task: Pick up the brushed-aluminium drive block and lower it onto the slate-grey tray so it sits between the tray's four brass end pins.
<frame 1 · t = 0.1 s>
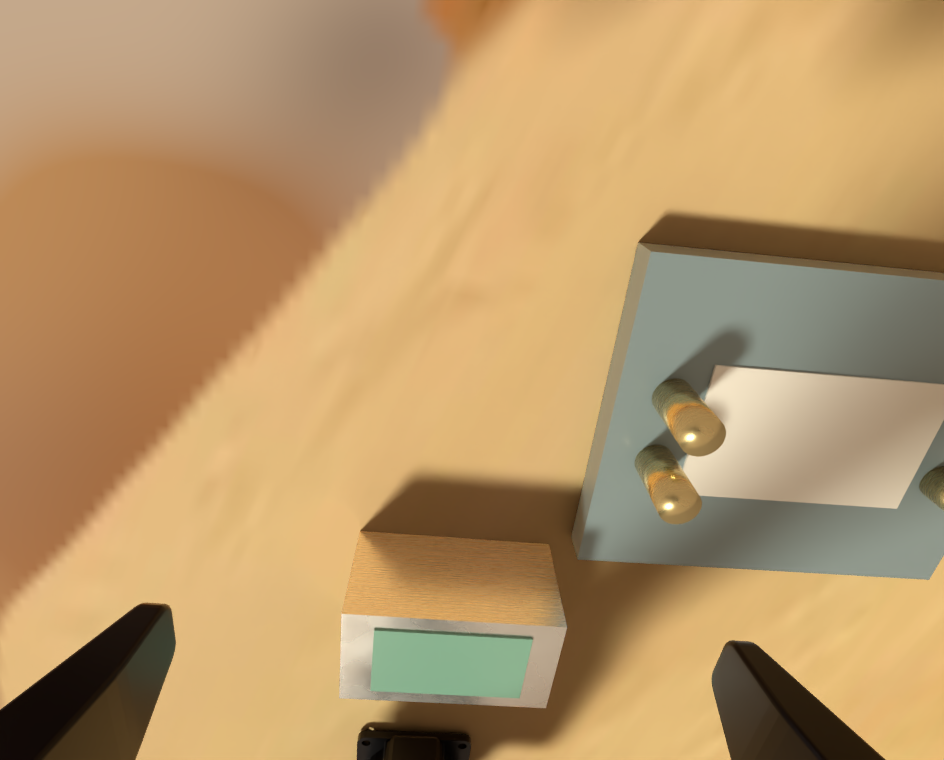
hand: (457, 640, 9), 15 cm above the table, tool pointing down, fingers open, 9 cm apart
pin tray: (791, 422, 25), on the table
drive: (450, 574, 28), on the table
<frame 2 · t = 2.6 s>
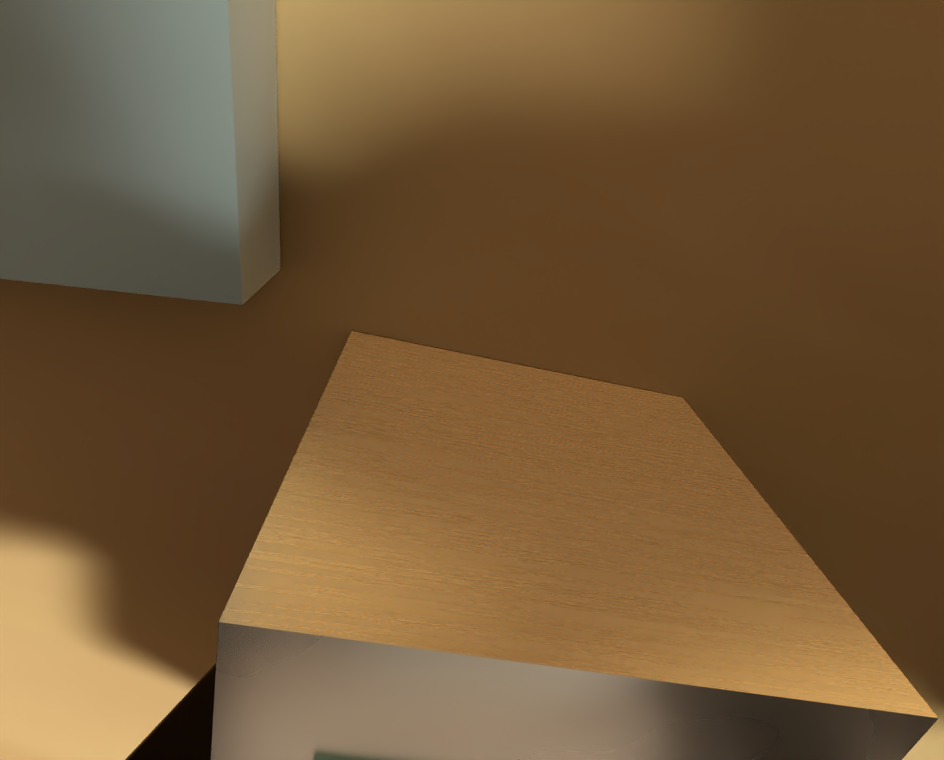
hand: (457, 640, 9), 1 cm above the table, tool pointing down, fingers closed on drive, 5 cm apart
drive: (457, 590, 10), on the table, touching gripper
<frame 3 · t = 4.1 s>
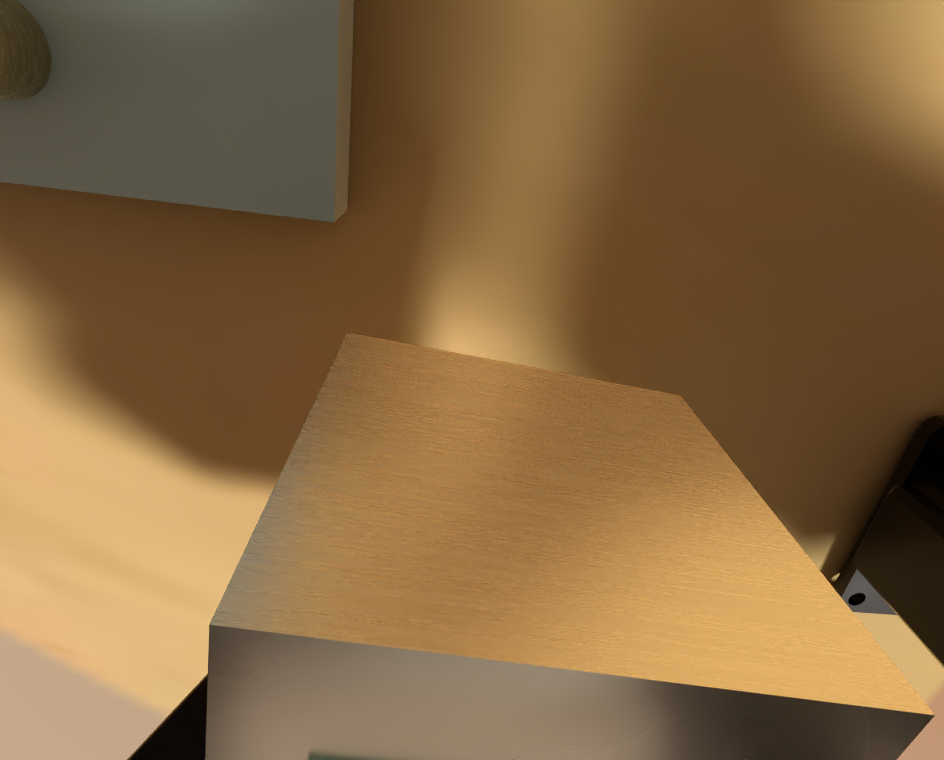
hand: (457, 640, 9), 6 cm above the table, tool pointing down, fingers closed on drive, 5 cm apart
drive: (456, 590, 10), point 5 cm above the table, touching gripper
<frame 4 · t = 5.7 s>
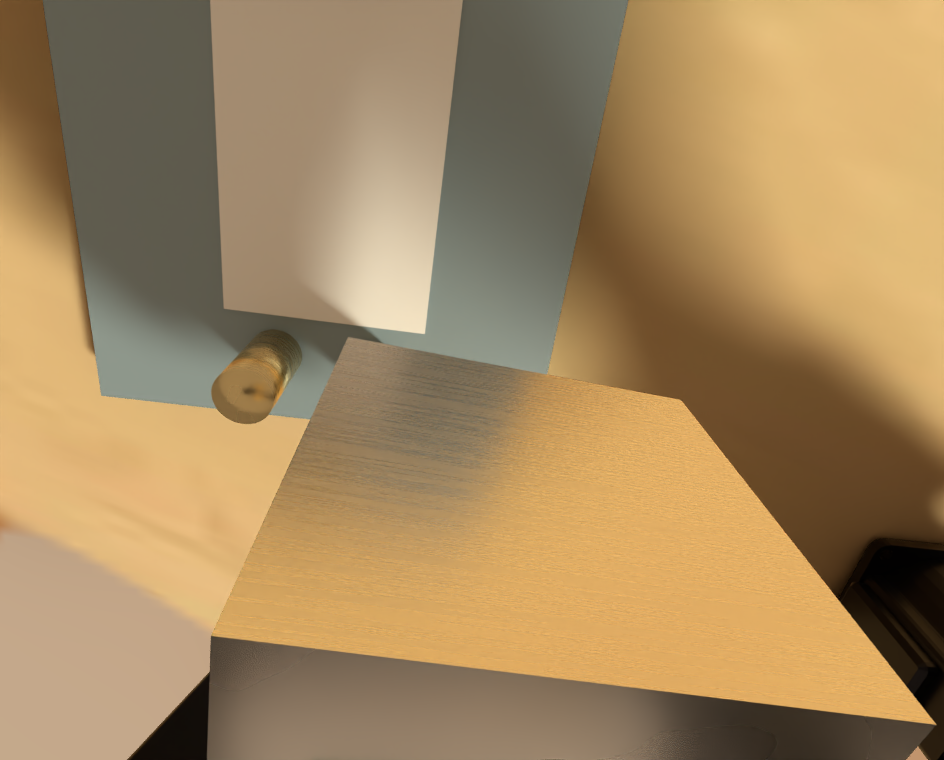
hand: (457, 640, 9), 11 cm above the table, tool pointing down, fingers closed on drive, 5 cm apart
pin tray: (343, 141, 16), on the table
drive: (457, 594, 10), point 10 cm above the table, touching gripper
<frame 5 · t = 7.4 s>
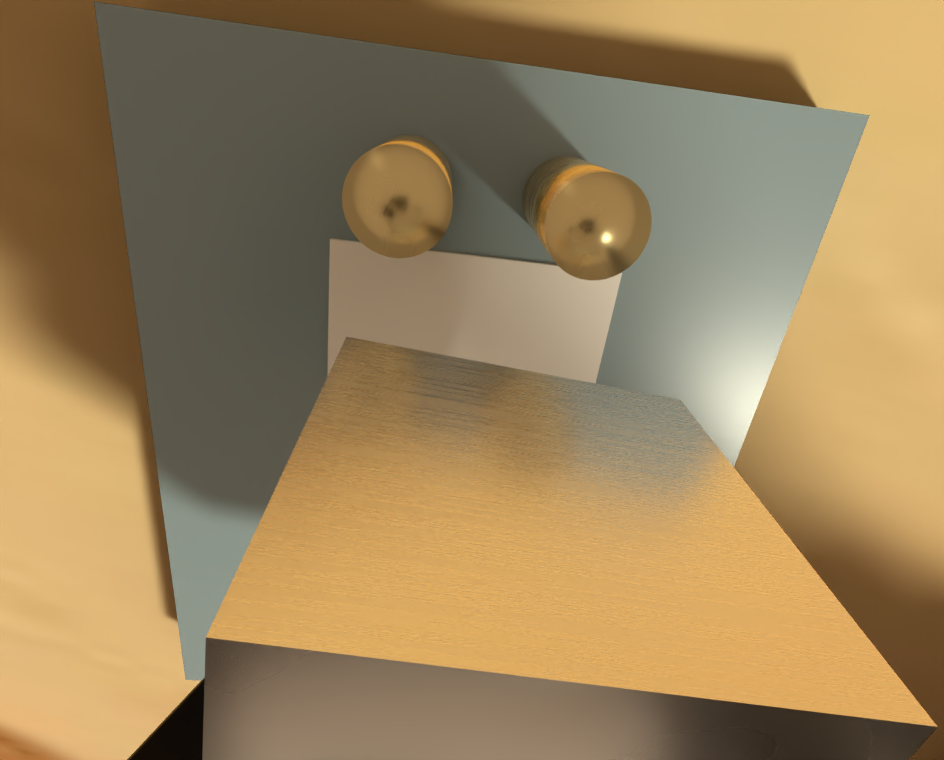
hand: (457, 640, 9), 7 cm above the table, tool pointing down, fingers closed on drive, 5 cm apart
pin tray: (452, 428, 15), on the table
drive: (456, 595, 10), point 6 cm above the table, touching gripper
when the fingers open (3 cm above the table, at t = 8.9 s): drive stays where it is, resting on pin tray.
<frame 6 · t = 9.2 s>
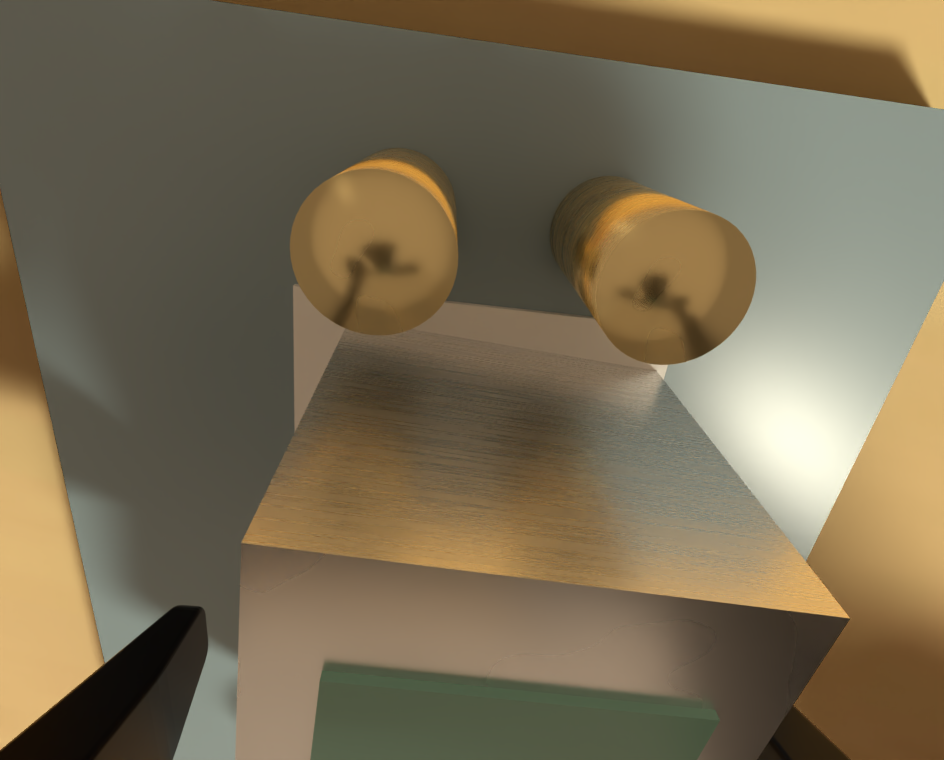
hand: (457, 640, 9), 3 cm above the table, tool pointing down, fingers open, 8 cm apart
pin tray: (454, 503, 12), on the table
drive: (456, 559, 11), point 2 cm above the table, touching pin tray
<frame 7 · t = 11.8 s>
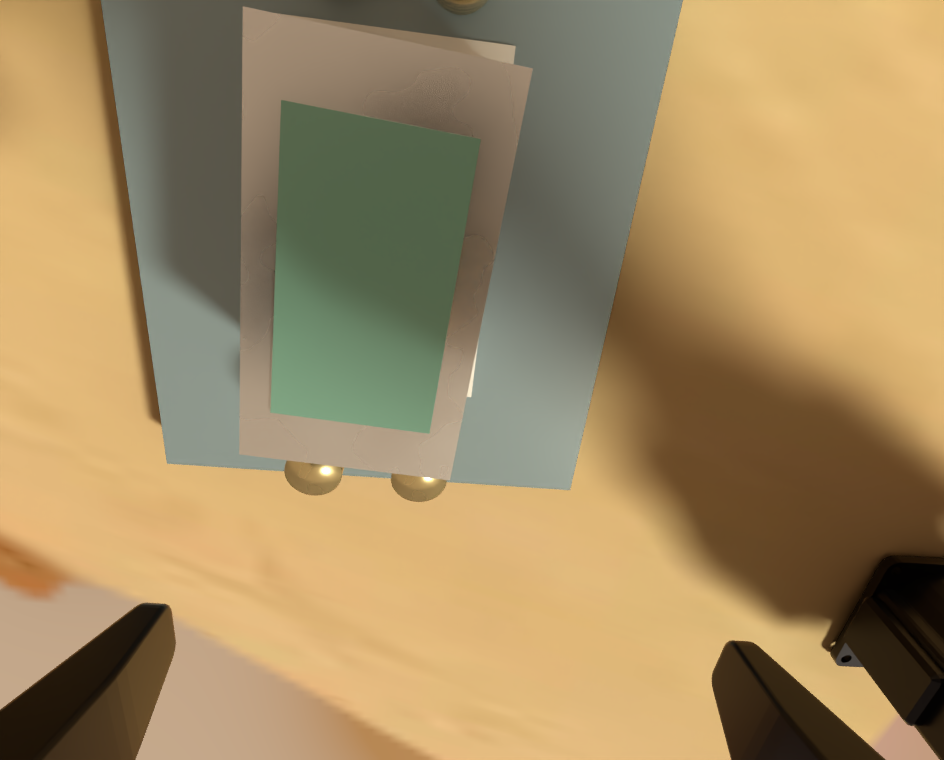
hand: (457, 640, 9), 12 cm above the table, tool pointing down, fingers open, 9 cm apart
pin tray: (390, 223, 18), on the table
drive: (387, 236, 16), point 2 cm above the table, touching pin tray
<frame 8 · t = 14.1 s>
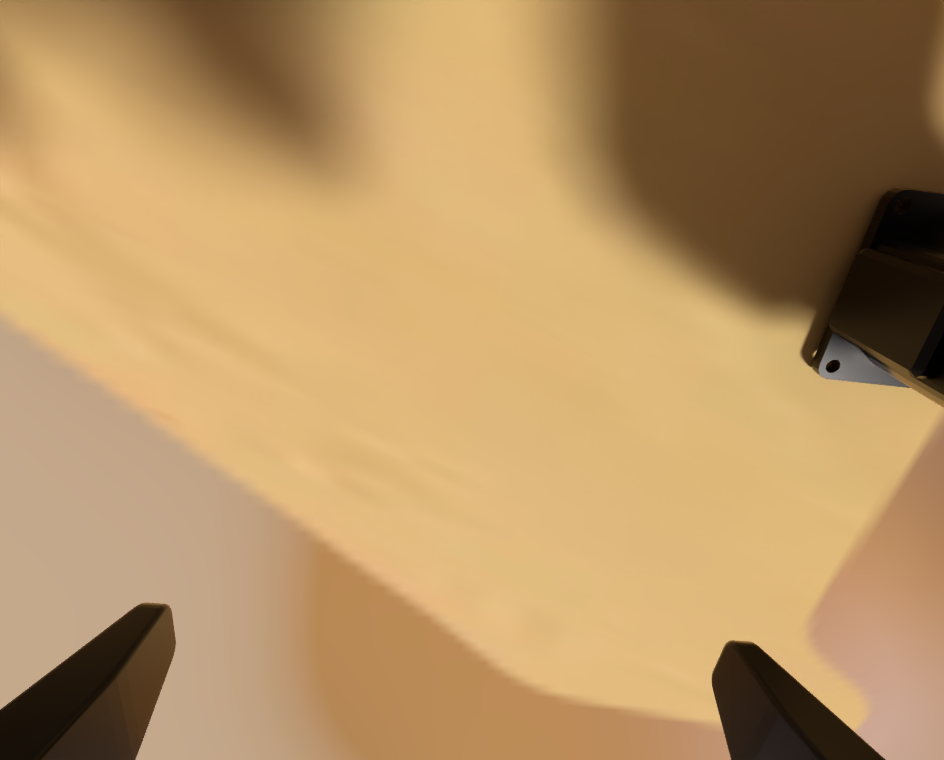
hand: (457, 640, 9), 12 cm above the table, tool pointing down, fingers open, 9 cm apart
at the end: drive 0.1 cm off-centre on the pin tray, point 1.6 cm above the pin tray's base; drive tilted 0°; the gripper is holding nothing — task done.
